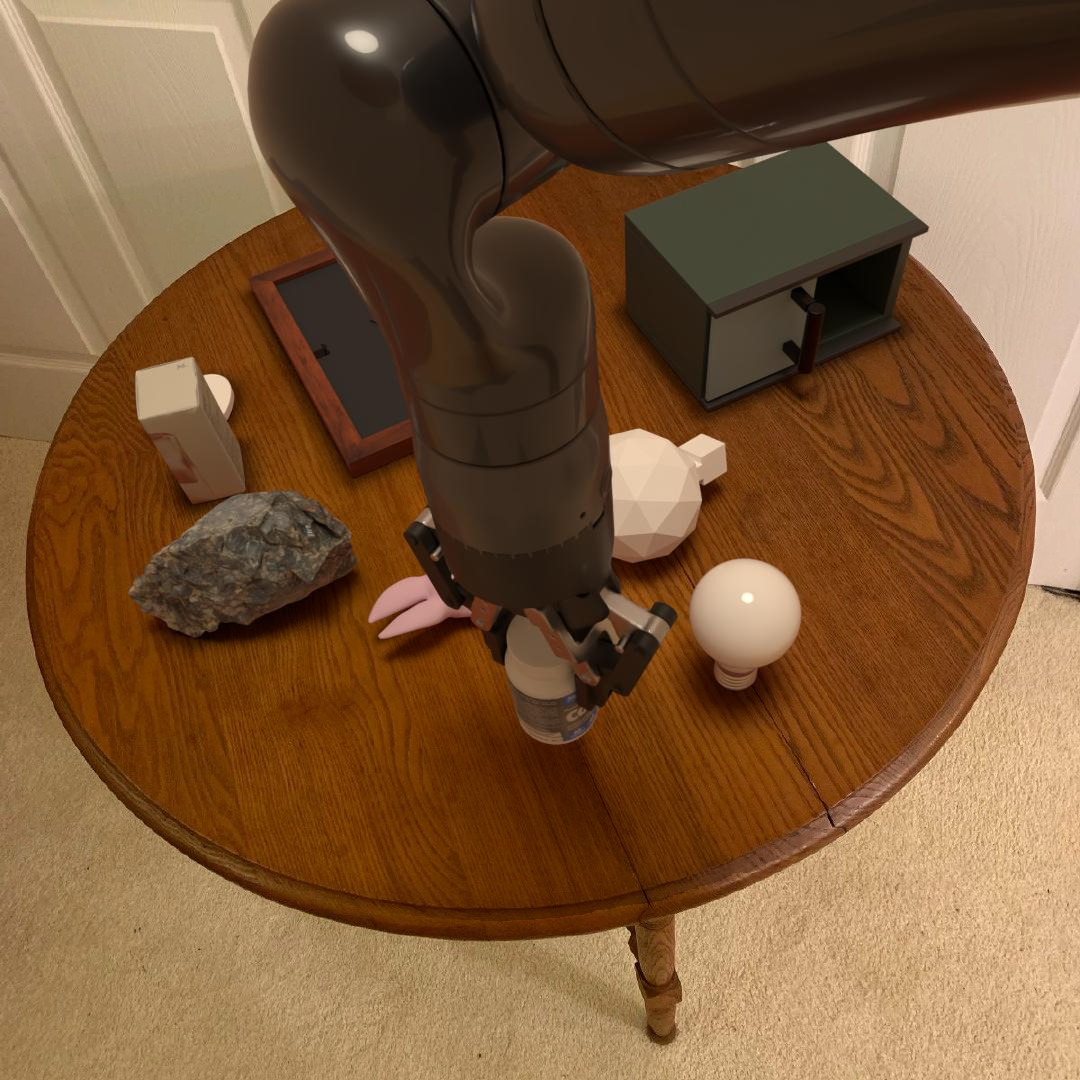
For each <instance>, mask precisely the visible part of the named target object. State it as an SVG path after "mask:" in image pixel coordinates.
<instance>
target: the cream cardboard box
mask: <svg viewBox="0 0 1080 1080" xmlns="http://www.w3.org/2000/svg"><path fill="white" fill-rule="evenodd" d="M203 375H204V374H203V372H202V370H201V368H200V367H199V365H198V363H197V361H196V359H195V358H194V357H193V356H189V357H185V358H182V359H176V360H173V361H169V362H164V363H161V364H157V365H152V366H149V367H145V368H141V369H139V370H136V371H135V378H134V379H135V404H136V413H137V419H138V421H139V423H140V424H141V426H142V427H143V429H144V431H145V432H146V433H147V435H148V436H149V438H150V440H151V441H152V443H153V444H154V446H155V448H156V449H157V451H158V452H159V454H160V456H161V458H162V459H163V460H164V462H165V463H166V465H167V466H168V468H169V469H170V472H172V474H173V476H174V477H175V480H176V481H177V482H178V484H179V485H180V487H181V489H182V490H183V493H184V494H185V495H186V497H187V498H188V500H189V501H190V502H191V504H192V505H198V504H202V503H207V502H211V501H215V500H220V499H223V498H228V497H231V496H235V495H238V494H244V493H245V492H246V490H247V488H246V487H247V486H246V478H245V470H244V469H245V468H244V462H243V457H242V451H241V450H242V449H241V445H240V443H239V441H238V439H237V437H236V436H235V433H234V432H233V429H232V428H231V426H230V424H229V422H228V420H226V418H225V416H224V415H223V413H222V411H221V409H220V407H219V405H218V403H217V401H216V399H215V397H214V395H213V393H212V392H211V390H210V388H209V386H208V384H207V382H206V380H205V378H204V376H203Z"/></svg>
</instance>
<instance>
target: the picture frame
mask: <svg viewBox="0 0 1080 1080" xmlns="http://www.w3.org/2000/svg"><path fill="white" fill-rule="evenodd" d="M247 280H248V282H249V285H250V288H251V289H252V290H251V291H252V293H253V294H254V297H255V298H256V300H257V302H258V303H259V306H260V307H261V310H262V311H263V313H264V315H265V317H266V318H267V320H268V322H269V324H270V326H271V328H272V329H273V331H274V333H275V335H276V337H277V339H278V340H279V343H280V344H281V346H282V348H283V350H284V352H285V354H286V355H287V357H288V359H289V361H290V363H291V365H292V367H293V369H294V370H295V372H296V374H297V376H298V378H299V379H300V382H301V383H302V385H303V387H304V389H305V390H306V393H307V394H308V396H309V398H310V400H311V402H312V403H313V405H314V407H315V409H316V411H317V413H318V415H319V416H320V418H321V420H322V422H323V425H324V426H325V427H326V429H327V431H328V433H329V435H330V437H331V438H332V441H333V442H334V443H335V446H336V449H338V451H339V454H340V455H341V457H342V459H343V460H344V461H343V462H344V463H345V464H346V466H347V468H348V470H349V472H350V474H351V475H352V477H353V479H356V478H358V477H361V476H362V475H365V474H367V473H369V472H372V471H375V470H376V469H379V468H381V467H383V466H385V465H387V464H390V463H392V462H395V461H396V460H399V459H401V458H404V457H406V456H409V455H410V454H414V449H413V441H412V428H411V422H410V418H409V414H408V411H407V407H406V404H405V400H404V397H403V394H402V390H401V387H400V383H399V380H398V377H397V373H396V369H395V365H394V362H393V359H392V355H391V351H390V349H389V347H388V345H387V343H386V341H385V339H384V337H383V334H382V333H381V331H380V329H379V327H378V325H377V324H376V322H375V320H374V319H373V317H372V315H371V314H370V312H369V310H368V308H367V307H366V305H365V303H364V302H363V300H362V299H361V297H360V295H359V294H358V292H357V290H356V289H355V287H354V286H353V284H352V283H351V281H350V279H349V278H348V276H347V275H346V273H345V272H344V270H343V269H342V267H341V266H340V264H339V263H338V262H337V260H336V259H335V257H334V256H333V255H332V253H331V252H330V250H329V249H328V248H327V247H324V248H322V249H319V250H317V251H314V252H311V253H309V254H306V255H304V256H301V257H298V258H296V259H292V260H291V261H288V262H285V263H283V264H280V265H278V266H275V267H272V268H269V269H267V270H264V271H262V272H259V273H257V274H254V275H252V276H251V275H250V276H249V277H247Z"/></svg>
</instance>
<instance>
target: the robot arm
mask: <svg viewBox="0 0 1080 1080" xmlns="http://www.w3.org/2000/svg"><path fill="white" fill-rule="evenodd" d="M249 57H250V58H249V62H248V68H247V69H248V72H247V85H246V86H247V87H246V91H247V103H248V114H249V119H250V123H251V128H252V131H253V135H254V138H255V141H256V143H257V146H258V148H259V151H260V153H261V155H262V158H263V159H264V161H265V163H266V165H267V167H268V169H269V170H270V171H271V173H272V175H273V176H274V178H275V179H276V181H277V183H278V184H279V185H280V187H281V189H282V190H283V191H284V193H285V194H286V196H287V197H288V198H289V200H290V201H291V202H292V203H293V205H294V206H295V208H296V209H297V211H299V213H300V214H301V216H302V217H303V218H304V219H305V221H306V222H307V223H308V224H309V226H310V227H311V228H312V230H314V232H315V233H316V235H317V236H318V238H319V239H320V240H321V241H322V243H323V244H324V245H325V246H326V248H328V249H329V250H330V252H331V253H332V255H333V256H334V257H335V259H336V260H337V262H338V263H339V264H340V266H341V267H342V269H343V270H344V272H345V273H346V275H347V276H348V278H349V279H350V281H351V283H352V284H353V286H354V287H355V289H356V290H357V292H358V294H359V295H360V297H361V299H362V300H363V302H364V303H365V305H366V307H367V308H368V310H369V312H370V314H371V315H372V317H373V319H374V320H375V322H376V324H377V325H378V327H379V329H380V331H381V333H382V334H383V337H384V339H385V341H386V343H387V345H388V347H389V349H390V351H391V355H392V359H393V362H394V365H395V369H396V373H397V377H398V380H399V383H400V387H401V390H402V394H403V397H404V400H405V404H406V407H407V411H408V414H409V418H410V422H411V428H412V441H413V449H414V452H413V454H414V460H415V464H416V465H415V466H416V469H417V472H418V475H419V478H420V482H421V485H422V488H423V492H424V495H425V499H426V502H427V504H426V505H425V507H424V508H423V509H422V510H421V511H420V513H418V515H417V516H416V518H415V519H414V520H413V521H412V523H410V525H409V526H408V527H407V528H406V530H405V531H404V532H403V534H402V536H403V538H404V539H405V541H406V543H407V545H408V546H409V548H410V549H411V551H412V553H413V555H414V556H415V558H416V560H417V561H418V563H419V565H420V566H421V568H422V570H423V571H424V573H425V575H427V576H428V578H429V580H430V581H431V583H432V585H433V586H434V588H435V590H436V591H437V593H438V595H439V596H440V598H441V600H442V601H443V602H444V603H445V604H446V605H447V606H448V607H450V608H452V609H455V610H459V609H460V607H461V606H462V605H463V606H465V607H466V608H468V609H469V610H470V611H471V612H472V614H471V617H469V619H470V620H471V622H472V623H473V624H474V625H475V626H476V627H477V628H478V629H480V631H481V634H482V637H483V641H484V644H485V645H486V647H487V648H488V649H489V650H490V654H491V658H492V661H493V662H495V663H497V664H499V665H501V666H503V667H505V653H506V649H507V631H508V628H509V625H510V623H511V621H512V620H513V618H514V617H515V616H516V615H520V616H523V617H525V618H528V619H529V621H530V622H531V624H532V625H534V626H537V627H539V629H540V630H541V632H542V634H543V635H544V637H545V639H546V640H547V642H548V644H549V646H550V647H551V649H552V651H553V652H554V654H555V656H556V657H558V658H561V659H564V660H567V661H569V662H570V664H571V666H572V667H573V669H574V671H575V675H574V680H575V688H576V695H577V702H578V706H580V707H582V708H584V709H586V710H588V711H592V710H593V709H594V707H595V706H596V705H597V706H598V708H600V709H602V708H603V707H604V706H606V704H607V702H608V700H609V699H610V697H611V696H612V694H613V692H614V694H616V695H618V696H621V697H625V698H626V697H629V696H630V695H631V693H632V692H633V690H634V688H635V687H636V685H637V683H638V682H639V680H640V679H641V678H642V675H644V672H645V671H646V669H647V668H648V666H649V664H650V663H651V661H652V659H653V658H654V657H655V655H656V653H657V652H658V650H659V648H660V647H661V646H662V644H663V642H664V640H665V639H666V637H667V635H668V634H669V633H670V631H671V629H672V627H674V625H675V622H676V621H677V620H678V617H679V614H678V612H677V611H676V610H675V608H673V607H672V606H670V605H669V604H667V603H666V602H663V601H655V602H654V603H653V605H652V606H651V608H650V609H648V608H647V607H646V606H640V605H638V604H636V603H635V602H633V601H631V600H630V599H629V598H627V597H626V596H624V595H622V594H623V588H622V583H621V581H620V579H619V577H618V576H617V574H616V573H615V571H614V569H613V567H612V558H613V557H612V552H613V545H614V511H613V493H612V467H611V456H610V438H609V436H610V428H609V420H608V416H607V411H606V408H605V403H604V400H603V396H602V392H601V384H600V375H599V372H600V371H599V357H598V356H599V355H598V342H597V341H598V340H597V320H596V319H597V318H596V309H595V300H594V295H593V289H592V288H593V287H592V284H591V283H592V282H591V278H590V274H589V271H588V270H587V267H586V265H585V262H584V260H583V258H582V256H581V254H580V252H579V251H578V250H577V248H576V247H575V245H573V243H572V242H571V241H570V240H569V239H568V238H566V237H565V236H564V235H563V234H562V233H560V232H559V231H558V230H556V229H554V228H552V227H551V226H549V225H547V224H545V223H542V222H540V221H536V220H533V219H530V218H527V217H522V216H521V217H520V216H507V215H506V216H503V215H501V216H500V215H499V214H500V213H502V212H504V211H505V210H507V209H508V208H510V207H511V206H512V205H514V204H515V203H517V202H518V201H520V200H521V199H523V198H524V197H525V196H527V195H528V194H530V193H532V192H533V191H534V190H536V189H537V188H539V187H541V186H542V185H543V184H544V183H546V182H547V181H549V180H551V179H552V178H553V177H554V176H556V175H558V174H560V173H561V172H562V171H564V170H565V169H566V168H568V167H569V166H571V165H573V166H576V167H579V168H582V169H584V170H587V171H591V172H595V173H599V174H603V175H608V176H615V177H631V178H632V177H633V178H634V177H635V178H637V177H638V178H640V177H641V178H642V177H653V176H655V177H656V176H667V175H676V174H680V173H681V174H682V173H687V172H692V171H697V170H702V169H706V168H712V167H716V166H722V165H727V164H731V163H736V162H741V161H746V160H750V159H754V158H759V157H764V156H769V155H774V154H778V153H779V154H780V153H784V152H787V151H789V150H793V149H797V148H802V147H807V146H812V145H816V144H820V143H825V142H828V143H829V142H832V141H833V142H834V141H836V140H841V139H845V138H850V137H855V136H860V135H863V134H867V133H872V132H877V131H881V130H885V129H890V128H895V127H900V126H907V125H911V124H918V123H923V122H928V121H933V120H939V119H944V118H950V117H956V116H962V115H966V114H971V113H977V112H985V111H992V110H999V109H1007V108H1015V107H1021V106H1022V107H1023V106H1030V105H1038V104H1046V103H1052V102H1060V101H1068V100H1076V99H1080V0H279V1H277V2H276V3H274V5H273V6H272V7H271V8H270V10H268V13H267V14H266V15H265V17H264V18H263V19H262V21H261V23H259V26H258V29H257V32H256V34H255V37H254V39H253V43H252V48H251V52H250V56H249ZM498 215H499V216H498ZM452 575H453V576H454V578H453V579H452ZM613 626H614V627H615V628H614V627H613Z"/></svg>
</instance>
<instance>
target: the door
mask: <svg viewBox="0 0 1080 1080" xmlns="http://www.w3.org/2000/svg"><path fill="white" fill-rule="evenodd" d="M816 282H817V278H815V279H813V280H810V281H808V282H805V283H803V284H801V285H798V286H796V287H793V288H791V289H788V290H786V291H784V292H781V293H779V294H776V295H774V296H771V297H769V298H767V299H764V300H762V301H759V302H757V303H754V304H752V305H750V306H747V307H745V308H742V309H740V310H737V311H735V312H733V313H730V314H728V315H725V316H723V317H720V318H718V319H715V318H714V317H713V316H711V329H710V342H709V355H708V368H707V381H706V394H705V399H706V400H707V401H710V400H712V399H714V398H717V397H719V396H721V395H724V394H726V393H728V392H731V391H733V390H735V389H738V388H740V387H742V386H745V385H747V384H749V383H752V382H754V381H756V380H759V379H761V378H763V377H766V376H768V375H770V374H773V373H775V372H777V371H780V370H782V369H784V368H787V367H789V366H791V365H793V364H795V365H797V369H798V371H799V372H800V373H799V374H801V375H809V374H811V373H812V372H814V369H815V366H814V364H815V359H816V354H817V349H818V344H819V339H820V334H821V329H822V324H823V318H824V313H825V306H824V305H823V304H821V303H817V302H816V300H815V299H814V293H815V287H816Z"/></svg>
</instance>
